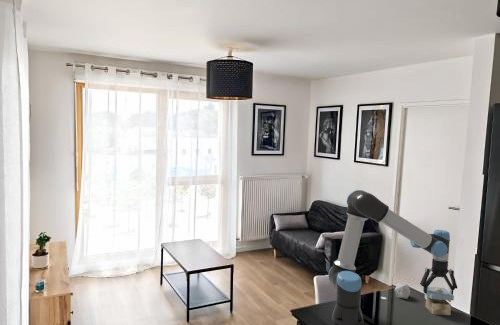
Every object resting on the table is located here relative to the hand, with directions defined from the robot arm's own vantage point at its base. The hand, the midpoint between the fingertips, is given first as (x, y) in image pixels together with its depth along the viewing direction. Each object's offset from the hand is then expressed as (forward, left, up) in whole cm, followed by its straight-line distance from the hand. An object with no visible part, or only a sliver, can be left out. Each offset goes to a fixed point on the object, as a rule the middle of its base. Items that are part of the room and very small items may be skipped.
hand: (437, 300), depth 194 cm
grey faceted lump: (-13, +17, -7) cm, 22 cm away
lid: (0, 0, +2) cm, 2 cm away
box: (0, 0, -6) cm, 6 cm away
